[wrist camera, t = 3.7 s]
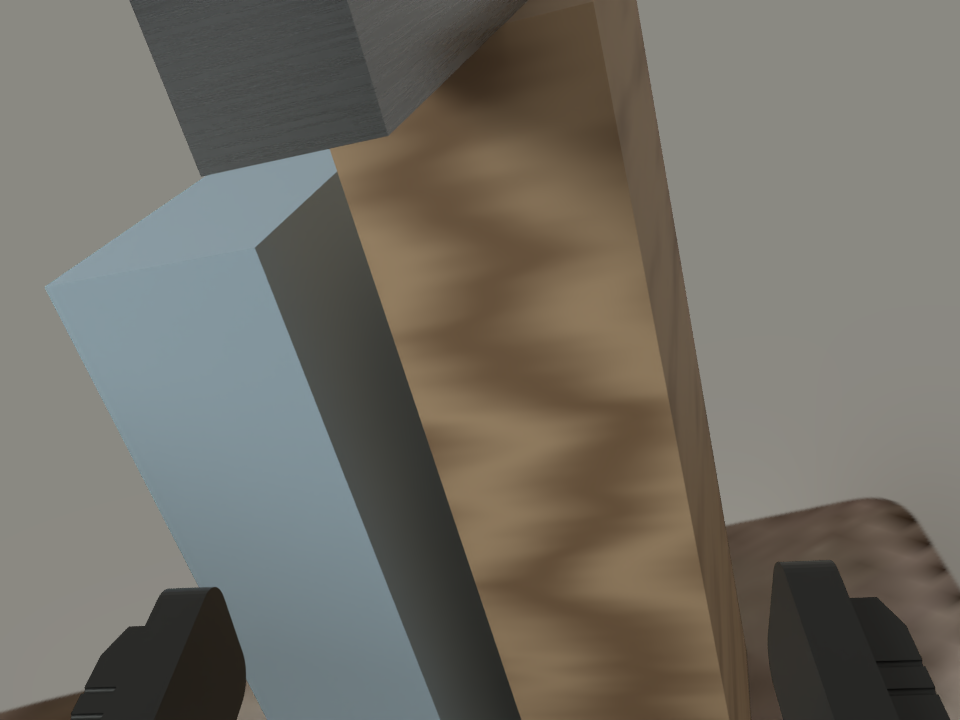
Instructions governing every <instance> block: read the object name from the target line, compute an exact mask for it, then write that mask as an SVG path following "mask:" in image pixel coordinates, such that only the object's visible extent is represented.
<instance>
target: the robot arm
mask: <svg viewBox="0 0 960 720" xmlns="http://www.w3.org/2000/svg"><path fill="white" fill-rule="evenodd" d="M768 656H769V664H770V671H771V676H772V681H773V685H774V688H775V692H776V695H777V699H778V702H779V706H780V709H781V713H782V717H783V720H950V718H949V716H948V714H947V712H946V710H945V708H944V705H943V703H942V701H941V699H940V697H939V695H936V692H935V686H934V684H933V682H932V680H931V678H930V676H929V673H928V671H927V669H926V667H925V666H923V664H922V658H921V656H920V654H919V652H918V650H917V648H916V646H915V643H914V641H913V639H912V637H911V635H910V633H909V631H908V628H907V626H906V625H905V624H904V623H903V622H902V621H901V620H900V619H899V618H898V617H897V616H896V615H895V614H894V613H893V612H892V611H891V610H889V609H888V608H887V607H886V606H885V605H884V604H883V603H882V602H881V601H880V600H879V599H878V598H877V597H868V598H849V595H848V593H847V591H846V588H845V586H844V583H843V581H842V578H841V576H840V574H839V571H838V569H837V567H836V565H835V564H834V562H833V561H831V560H819V561H795V562H777V563H776V564H775V567H774V573H773V584H772V595H771V607H770V618H769V629H768ZM245 685H246V665H245V659H244V655H243V652H242V649H241V646H240V643H239V640H238V637H237V634H236V631H235V628H234V625H233V622H232V619H231V616H230V613H229V610H228V607H227V604H226V602H225V599H224V596H223V593H222V592H221V590H220V589H219V588H217V587H200V588H176V589H166V590H164V591H163V592H162V593H161V595H160V596H159V598H158V600H157V602H156V604H155V606H154V608H153V610H152V612H151V614H150V616H149V619H148V621H147V623H146V625H145V626H134V627H128V628H127V629H126V630H125V631H124V632H123V633H122V634H121V635H120V636H119V637H118V638H117V639H116V640H115V641H114V642H113V643H112V644H111V646H110V647H109V648H108V649H107V650H106V651H105V652H104V653H103V654H102V655H101V656H100V658H99V660H98V662H97V664H96V666H95V668H94V670H93V672H92V674H91V676H90V678H89V680H88V682H87V684H86V685H85V692H84V694H81V695H80V697H79V699H78V701H77V703H76V705H75V707H74V709H73V711H72V713H71V720H237V717H238V714H239V710H240V707H241V704H242V701H243V697H244V692H245Z"/></svg>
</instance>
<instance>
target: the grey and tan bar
mask: <svg viewBox="0 0 960 720" xmlns="http://www.w3.org/2000/svg"><path fill="white" fill-rule="evenodd" d="M527 1H528V0H130V3H131V5H132V8H133V10H134V13H135V15H136V17H137V20H138V22H139V25H140V27H141V30H142V32H143V35H144V37H145V40H146V42H147V45H148V47H149V49H150V52H151V54H152V57H153V59H154V62H155V64H156V67H157V69H158V72H159V74H160V77H161V79H162V81H163V84H164V86H165V89H166V91H167V94H168V96H169V99H170V101H171V104H172V106H173V108H174V111H175V113H176V116H177V118H178V121H179V123H180V126H181V128H182V131H183V133H184V136H185V138H186V141H187V143H188V145H189V148H190V151H191V153H192V155H193V158H194V160H195V163H196V165H197V168H198V170H199V173H200V175H201V176H207V175H211V174H216V173H221V172H225V171H230V170H234V169H239V168H244V167H248V166H253V165H257V164H262V163H266V162H271V161H276V160H280V159H285V158H289V157H294V156H299V155H303V154H308V153H312V152H317V151H322V150H326V149H331V148H335V147H340V146H345V145H349V144H354V143H358V142H363V141H368V140H372V139H377V138H381V137H386V136H389V135H390V134H391V133H392V132H393V131H394V130H395V129H396V128H397V127H398V126H399V125H400V124H401V123H402V122H403V121H404V120H405V119H406V118H407V117H409V116H410V115H411V114H412V113H413V112H414V111H415V110H416V109H417V108H418V107H419V106H420V105H421V104H422V103H423V102H424V101H425V100H426V99H427V98H428V97H429V96H430V95H431V94H432V93H433V92H434V91H435V90H436V89H437V88H438V87H440V86H441V85H442V84H443V83H444V82H445V81H446V80H447V79H448V78H449V77H450V76H451V75H452V74H453V73H454V72H455V71H456V70H457V69H458V68H459V67H460V66H461V65H462V64H463V63H464V62H465V61H466V60H467V59H468V58H469V57H470V56H472V55H473V54H474V53H475V52H476V51H477V50H478V49H479V48H480V47H481V46H482V45H483V44H484V43H485V42H486V41H487V40H488V39H489V38H490V37H491V36H492V35H493V34H494V33H495V32H496V31H497V30H498V29H499V28H500V27H501V26H503V25H504V24H505V23H506V22H507V21H508V20H509V19H510V18H511V17H512V16H513V15H514V14H515V13H516V12H517V11H518V10H519V9H520V8H521V7H522V6H523V5H524V4H525V3H526V2H527Z"/></svg>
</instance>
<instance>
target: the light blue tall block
mask: <svg viewBox="0 0 960 720" xmlns="http://www.w3.org/2000/svg"><path fill="white" fill-rule="evenodd" d="M45 289H46V291H47V293H48V295H49V297H50V299H51V301H52V303H53V305H54V307H55V309H56V310H57V312H58V314H59V316H60V318H61V320H62V322H63V324H64V326H65V328H66V330H67V332H68V334H69V336H70V337H71V340H72V342H73V343H74V345H75V347H76V349H77V351H78V353H79V355H80V357H81V359H82V361H83V363H84V365H85V367H86V369H87V371H88V373H89V375H90V376H91V378H92V380H93V382H94V384H95V386H96V388H97V390H98V392H99V394H100V396H101V398H102V400H103V402H104V404H105V406H106V407H107V409H108V411H109V413H110V415H111V417H112V419H113V421H114V423H115V425H116V427H117V429H118V431H119V433H120V435H121V437H122V439H123V440H124V443H125V444H126V446H127V448H128V450H129V452H130V454H131V456H132V458H133V460H134V462H135V464H136V466H137V468H138V470H139V472H140V474H141V476H142V478H143V479H144V481H145V483H146V485H147V487H148V489H149V491H150V493H151V495H152V497H153V499H154V501H155V503H156V505H157V507H158V508H159V511H160V512H161V514H162V516H163V518H164V520H165V522H166V524H167V526H168V528H169V530H170V532H171V534H172V536H173V538H174V540H175V542H176V543H177V546H178V547H179V549H180V551H181V553H182V555H183V557H184V559H185V561H186V563H187V565H188V567H189V569H190V571H191V573H192V575H193V577H194V578H195V580H196V582H197V584H198V586H199V588H200V587H217V588H219V589H220V590H221V592H222V593H223V596H224V599H225V602H226V604H227V607H228V610H229V613H230V616H231V619H232V622H233V625H234V628H235V631H236V634H237V637H238V640H239V643H240V646H241V649H242V652H243V655H244V659H245V665H246V680H247V681H248V683H249V685H250V687H251V689H252V691H253V693H254V695H255V697H256V699H257V701H258V703H259V705H260V707H261V709H262V711H263V713H264V714H265V716H266V718H267V720H521V717H520V714H519V711H518V708H517V705H516V702H515V700H514V697H513V694H512V691H511V688H510V685H509V682H508V679H507V676H506V673H505V670H504V667H503V664H502V661H501V658H500V655H499V652H498V649H497V646H496V643H495V640H494V637H493V634H492V631H491V628H490V625H489V622H488V619H487V616H486V613H485V610H484V607H483V604H482V601H481V598H480V595H479V592H478V589H477V586H476V583H475V580H474V577H473V574H472V571H471V568H470V566H469V563H468V560H467V557H466V554H465V551H464V548H463V545H462V542H461V539H460V536H459V533H458V530H457V527H456V524H455V521H454V518H453V515H452V512H451V509H450V506H449V503H448V500H447V497H446V494H445V491H444V488H443V485H442V482H441V479H440V476H439V473H438V470H437V467H436V464H435V461H434V458H433V455H432V452H431V449H430V446H429V443H428V440H427V437H426V434H425V431H424V429H423V426H422V423H421V420H420V417H419V414H418V411H417V408H416V405H415V402H414V399H413V396H412V393H411V390H410V387H409V384H408V381H407V378H406V375H405V372H404V369H403V366H402V363H401V360H400V357H399V354H398V351H397V348H396V345H395V342H394V339H393V336H392V333H391V330H390V327H389V324H388V321H387V318H386V315H385V312H384V309H383V306H382V303H381V300H380V297H379V295H378V292H377V289H376V286H375V283H374V280H373V277H372V274H371V271H370V268H369V265H368V262H367V259H366V256H365V253H364V250H363V247H362V244H361V241H360V238H359V235H358V232H357V229H356V226H355V223H354V220H353V217H352V214H351V211H350V208H349V205H348V202H347V199H346V196H345V193H344V190H343V187H342V184H341V181H340V178H339V175H338V172H337V169H336V166H335V163H334V160H333V158H332V155H331V152H330V149H326V150H322V151H317V152H312V153H308V154H303V155H299V156H294V157H289V158H285V159H280V160H276V161H271V162H266V163H262V164H257V165H253V166H248V167H244V168H239V169H234V170H230V171H225V172H221V173H216V174H211V175H207V176H205V177H204V178H202V179H201V180H199V181H198V182H196V183H195V184H193V185H192V186H191V187H189V188H188V189H186V190H185V191H183V192H182V193H180V194H179V195H177V196H176V197H175V198H173V199H172V200H170V201H169V202H167V203H166V204H164V205H163V206H162V207H160V208H159V209H157V210H156V211H154V212H153V213H151V214H150V215H148V216H147V217H145V218H144V219H143V220H141V221H140V222H138V223H137V224H135V225H134V226H132V227H131V228H130V229H128V230H127V231H125V232H124V233H122V234H121V235H119V236H118V237H116V238H115V239H113V240H112V241H111V242H109V243H108V244H106V245H105V246H103V247H102V248H100V249H99V250H98V251H96V252H95V253H93V254H92V255H90V256H89V257H87V258H86V259H84V260H83V261H81V262H80V263H79V264H77V265H76V266H74V267H73V268H71V269H70V270H68V271H67V272H65V273H64V274H62V275H61V276H60V277H58V278H57V279H55V280H54V281H52V282H51V283H49V284H48V285H46V286H45Z"/></svg>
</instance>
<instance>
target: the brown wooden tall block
mask: <svg viewBox="0 0 960 720" xmlns="http://www.w3.org/2000/svg"><path fill="white" fill-rule="evenodd" d="M330 152H331V155H332V158H333V160H334V163H335V166H336V169H337V172H338V175H339V178H340V181H341V184H342V187H343V190H344V193H345V196H346V199H347V202H348V205H349V208H350V211H351V214H352V217H353V220H354V223H355V226H356V229H357V232H358V235H359V238H360V241H361V244H362V247H363V250H364V253H365V256H366V259H367V262H368V265H369V268H370V271H371V274H372V277H373V280H374V283H375V286H376V289H377V292H378V295H379V297H380V300H381V303H382V306H383V309H384V312H385V315H386V318H387V321H388V324H389V327H390V330H391V333H392V336H393V339H394V342H395V345H396V348H397V351H398V354H399V357H400V360H401V363H402V366H403V369H404V372H405V375H406V378H407V381H408V384H409V387H410V390H411V393H412V396H413V399H414V402H415V405H416V408H417V411H418V414H419V417H420V420H421V423H422V426H423V429H424V431H425V434H426V437H427V440H428V443H429V446H430V449H431V452H432V455H433V458H434V461H435V464H436V467H437V470H438V473H439V476H440V479H441V482H442V485H443V488H444V491H445V494H446V497H447V500H448V503H449V506H450V509H451V512H452V515H453V518H454V521H455V524H456V527H457V530H458V533H459V536H460V539H461V542H462V545H463V548H464V551H465V554H466V557H467V560H468V563H469V566H470V568H471V571H472V574H473V577H474V580H475V583H476V586H477V589H478V592H479V595H480V598H481V601H482V604H483V607H484V610H485V613H486V616H487V619H488V622H489V625H490V628H491V631H492V634H493V637H494V640H495V643H496V646H497V649H498V652H499V655H500V658H501V661H502V664H503V667H504V670H505V673H506V676H507V679H508V682H509V685H510V688H511V691H512V694H513V697H514V700H515V702H516V705H517V708H518V711H519V714H520V717H521V720H751V713H750V698H749V683H748V668H747V654H746V646H745V640H744V634H743V628H742V622H741V616H740V610H739V604H738V598H737V592H736V587H735V581H734V575H733V569H732V563H731V557H730V551H729V545H728V539H727V533H726V527H725V521H724V516H723V510H722V504H721V498H720V492H719V486H718V481H717V474H716V469H715V462H714V456H713V450H712V445H711V439H710V433H709V427H708V421H707V415H706V410H705V403H704V397H703V391H702V386H701V379H700V374H699V368H698V362H697V356H696V350H695V344H694V338H693V332H692V326H691V321H690V314H689V309H688V303H687V297H686V291H685V285H684V279H683V273H682V267H681V261H680V256H679V249H678V243H677V238H676V232H675V226H674V220H673V214H672V208H671V202H670V196H669V190H668V185H667V178H666V173H665V166H664V161H663V155H662V149H661V143H660V137H659V131H658V125H657V119H656V113H655V108H654V101H653V96H652V90H651V84H650V78H649V72H648V66H647V60H646V55H645V49H644V42H643V37H642V31H641V25H640V20H639V13H638V7H637V1H636V0H528V1H527V2H526V3H525V4H524V5H523V6H522V7H521V8H520V9H519V10H518V11H517V12H516V13H515V14H514V15H513V16H512V17H511V18H510V19H509V20H508V21H507V22H506V23H505V24H504V25H503V26H501V27H500V28H499V29H498V30H497V31H496V32H495V33H494V34H493V35H492V36H491V37H490V38H489V39H488V40H487V41H486V42H485V43H484V44H483V45H482V46H481V47H480V48H479V49H478V50H477V51H476V52H475V53H474V54H473V55H472V56H470V57H469V58H468V59H467V60H466V61H465V62H464V63H463V64H462V65H461V66H460V67H459V68H458V69H457V70H456V71H455V72H454V73H453V74H452V75H451V76H450V77H449V78H448V79H447V80H446V81H445V82H444V83H443V84H442V85H441V86H440V87H438V88H437V89H436V90H435V91H434V92H433V93H432V94H431V95H430V96H429V97H428V98H427V99H426V100H425V101H424V102H423V103H422V104H421V105H420V106H419V107H418V108H417V109H416V110H415V111H414V112H413V113H412V114H411V115H410V116H409V117H407V118H406V119H405V120H404V121H403V122H402V123H401V124H400V125H399V126H398V127H397V128H396V129H395V130H394V131H393V132H392V133H391V134H390V135H389V136H386V137H381V138H377V139H372V140H368V141H363V142H358V143H354V144H349V145H345V146H340V147H335V148H331V149H330Z"/></svg>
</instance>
